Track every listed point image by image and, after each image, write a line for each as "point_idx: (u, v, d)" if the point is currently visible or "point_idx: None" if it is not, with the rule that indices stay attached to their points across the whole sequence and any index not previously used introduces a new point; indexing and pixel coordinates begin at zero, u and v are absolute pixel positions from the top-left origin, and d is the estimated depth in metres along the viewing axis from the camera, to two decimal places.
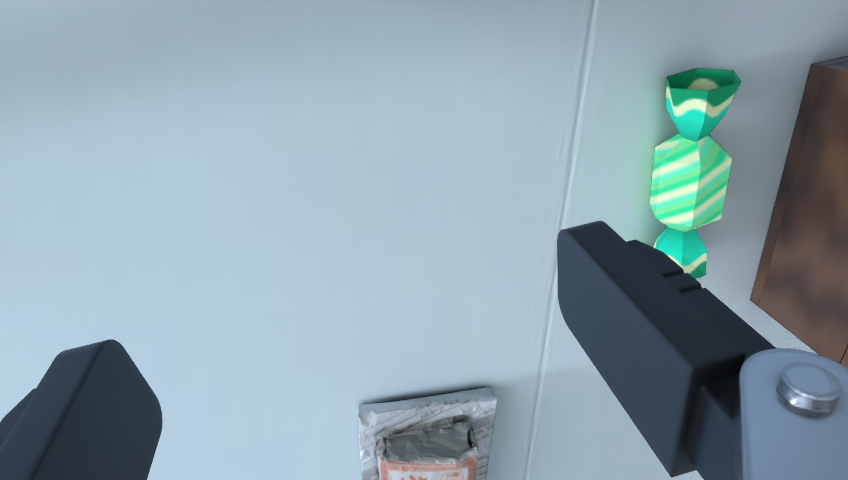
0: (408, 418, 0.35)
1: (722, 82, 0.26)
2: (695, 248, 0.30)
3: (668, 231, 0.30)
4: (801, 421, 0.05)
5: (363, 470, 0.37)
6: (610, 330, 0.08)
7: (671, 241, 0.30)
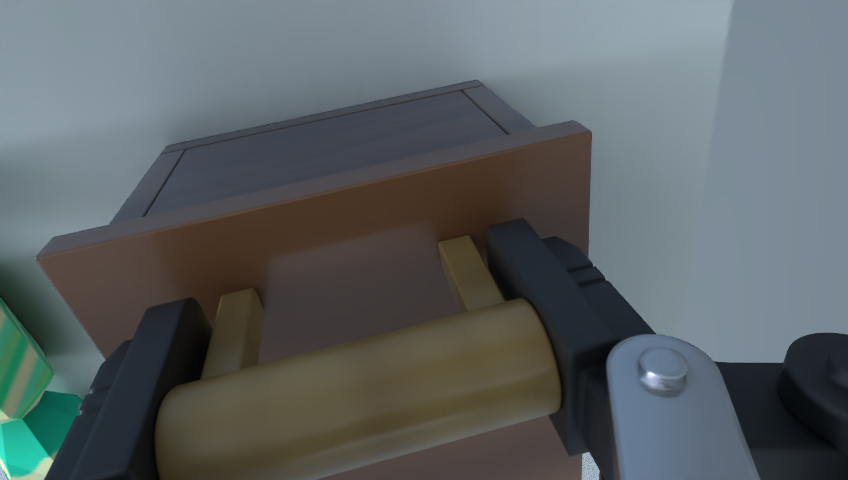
0: None
1: None
2: (27, 450, 0.18)
3: None
4: (649, 398, 0.05)
5: None
6: None
7: None
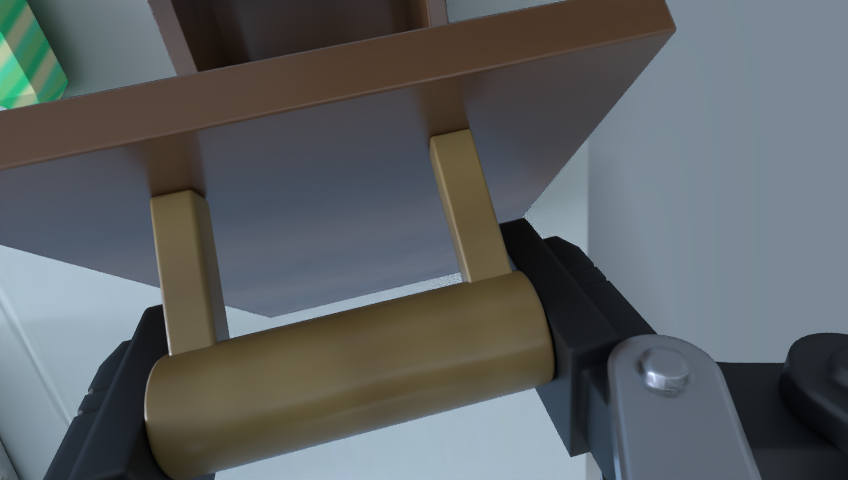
0: None
1: None
2: None
3: None
4: (650, 398, 0.05)
5: None
6: None
7: None
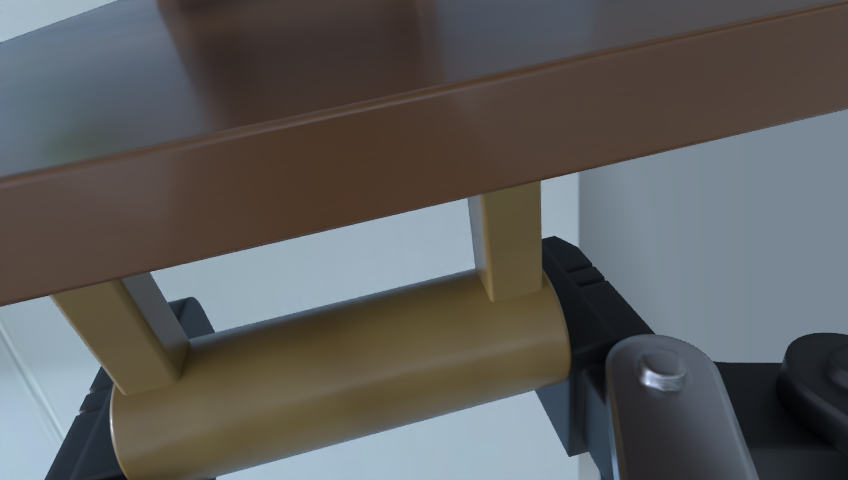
0: None
1: None
2: None
3: None
4: (647, 398, 0.05)
5: None
6: None
7: None
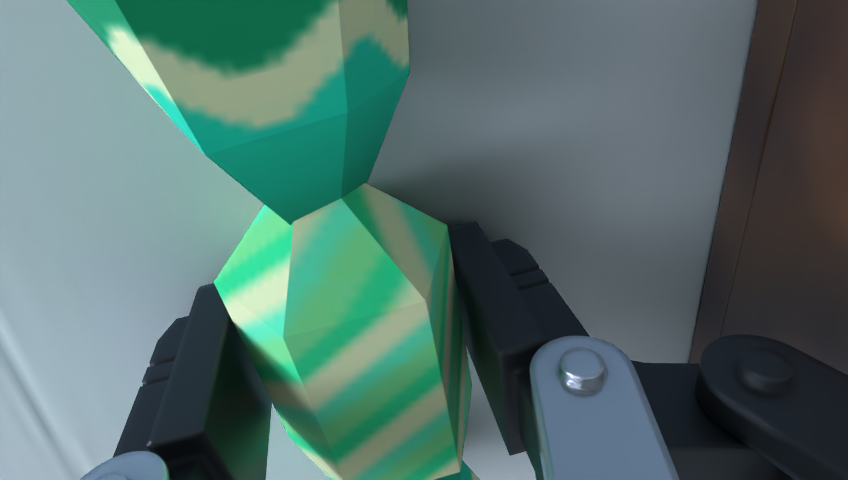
0: None
1: None
2: None
3: None
4: (564, 398, 0.05)
5: None
6: (469, 321, 0.08)
7: None
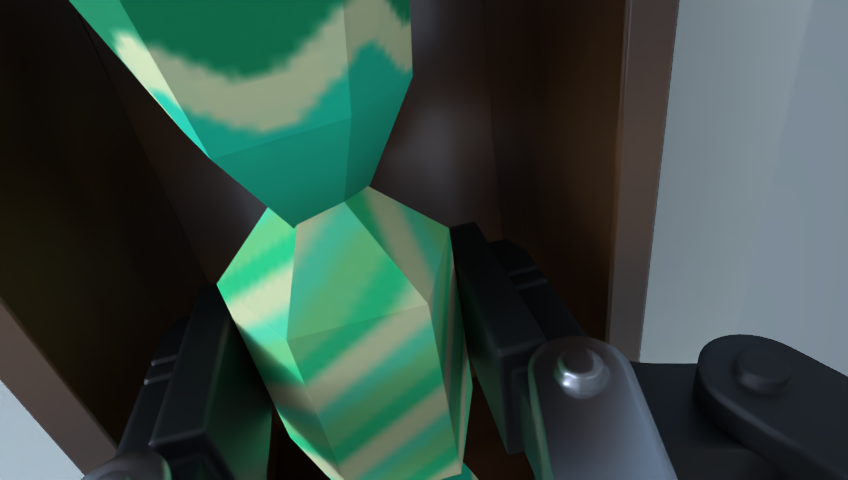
0: None
1: None
2: None
3: None
4: (562, 398, 0.05)
5: None
6: (468, 322, 0.08)
7: None
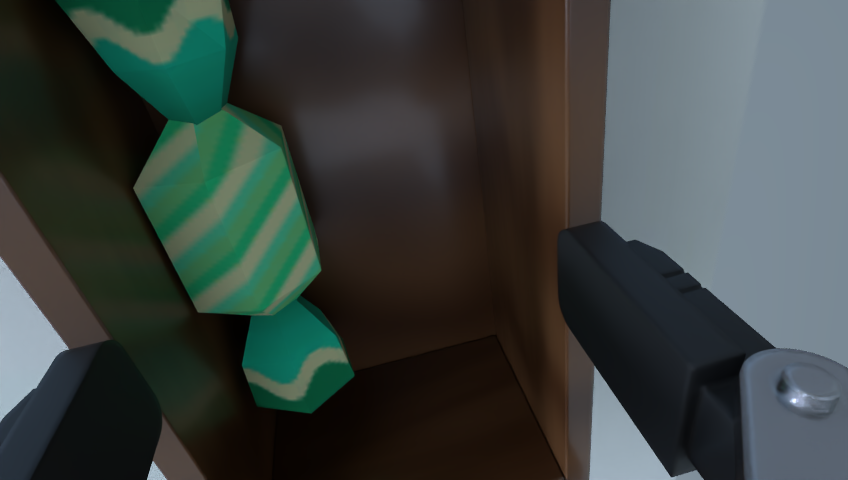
0: None
1: (157, 4, 0.09)
2: None
3: None
4: (801, 421, 0.05)
5: None
6: (609, 330, 0.08)
7: None
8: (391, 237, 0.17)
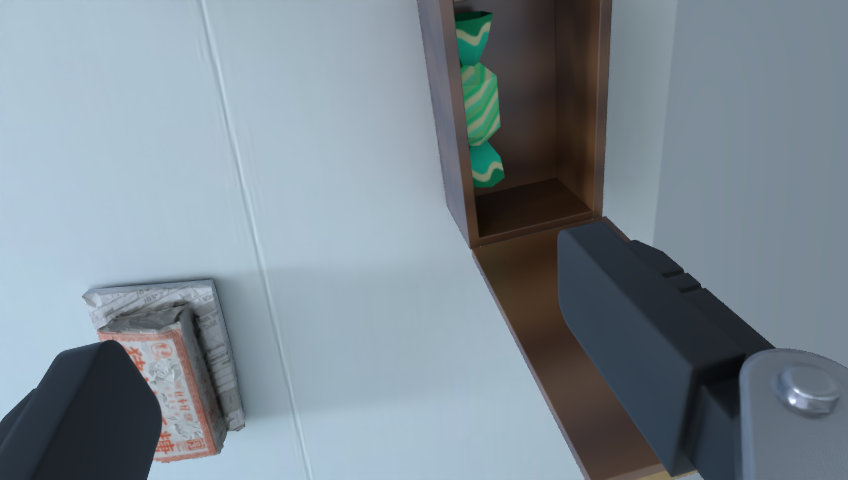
0: (132, 302, 0.40)
1: (479, 27, 0.32)
2: None
3: None
4: (801, 421, 0.05)
5: None
6: (609, 329, 0.08)
7: None
8: (517, 122, 0.39)
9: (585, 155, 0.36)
